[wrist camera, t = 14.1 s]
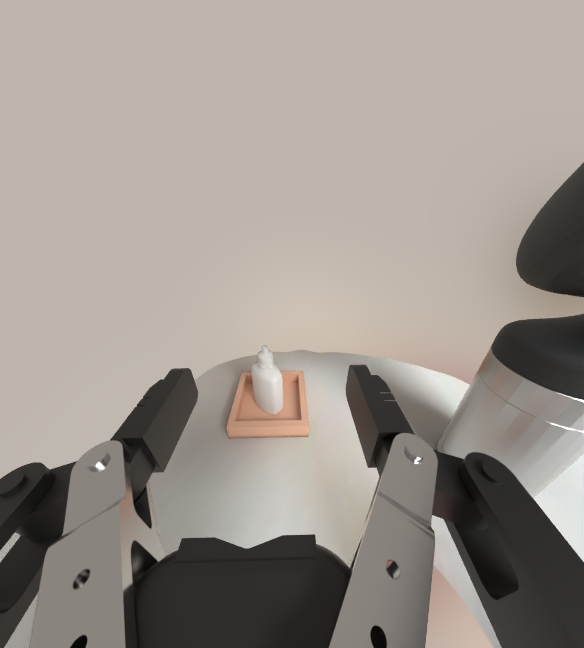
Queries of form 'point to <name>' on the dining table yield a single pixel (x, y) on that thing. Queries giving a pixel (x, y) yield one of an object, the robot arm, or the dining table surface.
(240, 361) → the dining table surface
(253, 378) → the eye dropper bottle
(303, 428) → the terracotta caddy
